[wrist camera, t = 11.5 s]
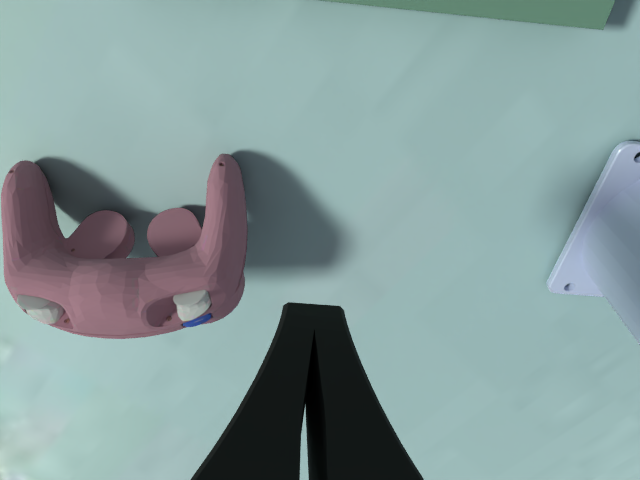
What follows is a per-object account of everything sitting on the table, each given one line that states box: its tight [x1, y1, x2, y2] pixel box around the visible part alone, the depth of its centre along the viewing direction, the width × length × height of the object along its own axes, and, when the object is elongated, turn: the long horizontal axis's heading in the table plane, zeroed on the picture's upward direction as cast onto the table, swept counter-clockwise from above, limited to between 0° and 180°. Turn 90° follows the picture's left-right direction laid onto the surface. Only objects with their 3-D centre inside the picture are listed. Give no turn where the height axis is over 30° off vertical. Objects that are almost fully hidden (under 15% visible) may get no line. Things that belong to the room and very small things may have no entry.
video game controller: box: [1, 154, 247, 339], centre depth 19 cm, size 10×5×7 cm, turn 92°
